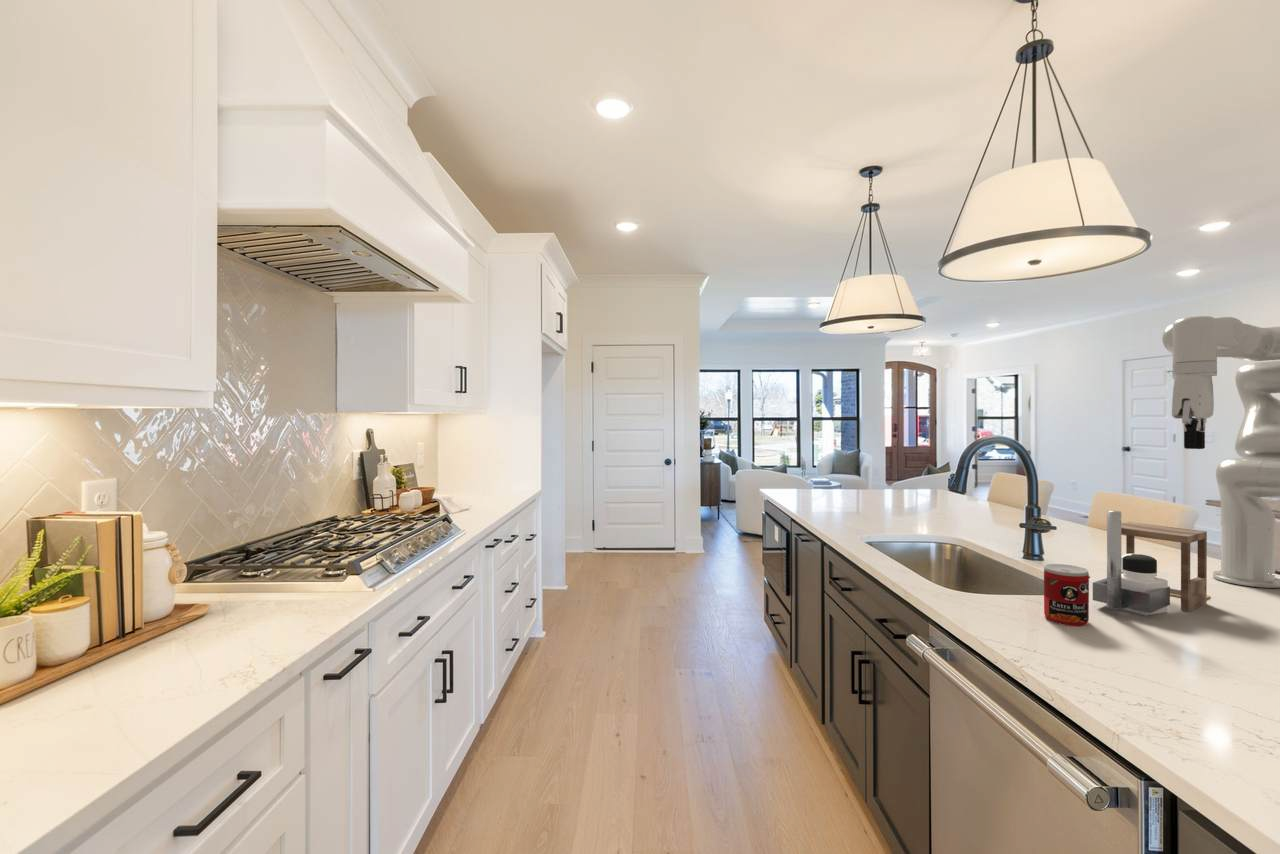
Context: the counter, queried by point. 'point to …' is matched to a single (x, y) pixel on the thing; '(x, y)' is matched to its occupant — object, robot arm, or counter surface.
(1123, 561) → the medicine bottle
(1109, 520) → the grey metal post stand
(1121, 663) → the counter surface
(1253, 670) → the counter surface
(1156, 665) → the counter surface
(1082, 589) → the canned food
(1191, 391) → the robot arm
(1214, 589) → the counter surface
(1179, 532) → the walnut tunnel
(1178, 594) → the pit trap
